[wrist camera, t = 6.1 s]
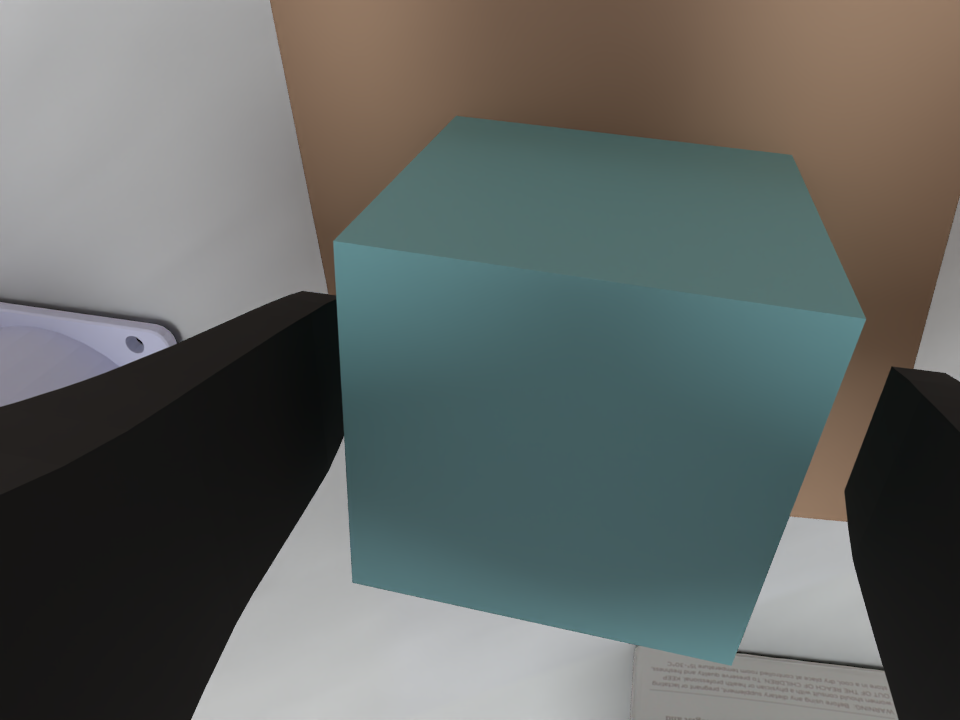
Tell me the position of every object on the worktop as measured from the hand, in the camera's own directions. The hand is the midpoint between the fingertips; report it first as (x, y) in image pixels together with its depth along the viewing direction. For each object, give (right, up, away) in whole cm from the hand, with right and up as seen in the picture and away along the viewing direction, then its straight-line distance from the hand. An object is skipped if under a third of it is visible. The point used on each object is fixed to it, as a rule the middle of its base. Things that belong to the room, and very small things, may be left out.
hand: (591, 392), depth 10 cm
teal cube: (0, +2, +2) cm, 3 cm away
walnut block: (+1, +4, +5) cm, 7 cm away
